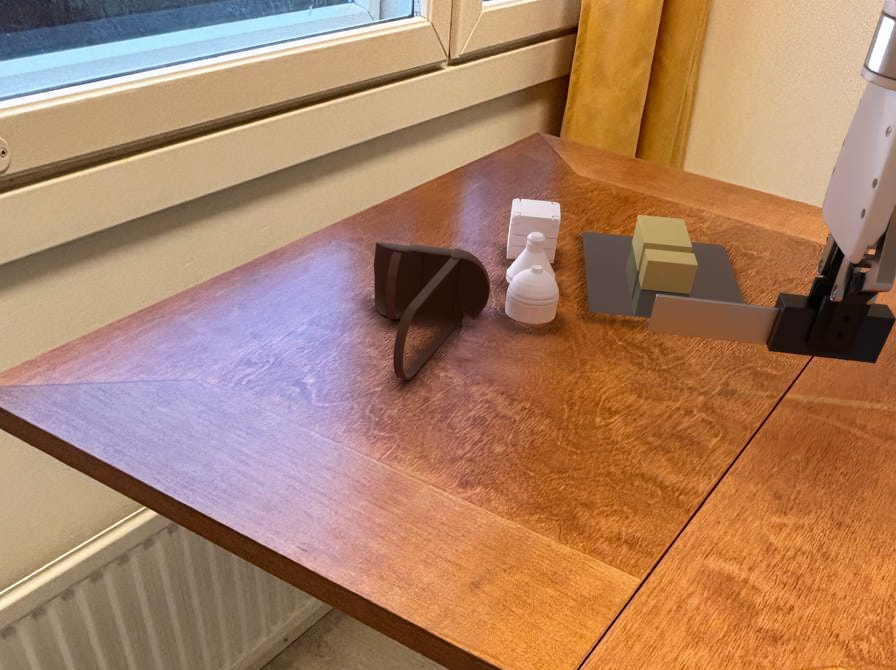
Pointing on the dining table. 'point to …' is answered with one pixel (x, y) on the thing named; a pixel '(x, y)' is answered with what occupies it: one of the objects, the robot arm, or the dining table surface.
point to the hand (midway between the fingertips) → (823, 339)
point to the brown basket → (427, 292)
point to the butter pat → (667, 271)
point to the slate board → (618, 277)
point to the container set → (532, 261)
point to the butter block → (659, 236)
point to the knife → (766, 324)
